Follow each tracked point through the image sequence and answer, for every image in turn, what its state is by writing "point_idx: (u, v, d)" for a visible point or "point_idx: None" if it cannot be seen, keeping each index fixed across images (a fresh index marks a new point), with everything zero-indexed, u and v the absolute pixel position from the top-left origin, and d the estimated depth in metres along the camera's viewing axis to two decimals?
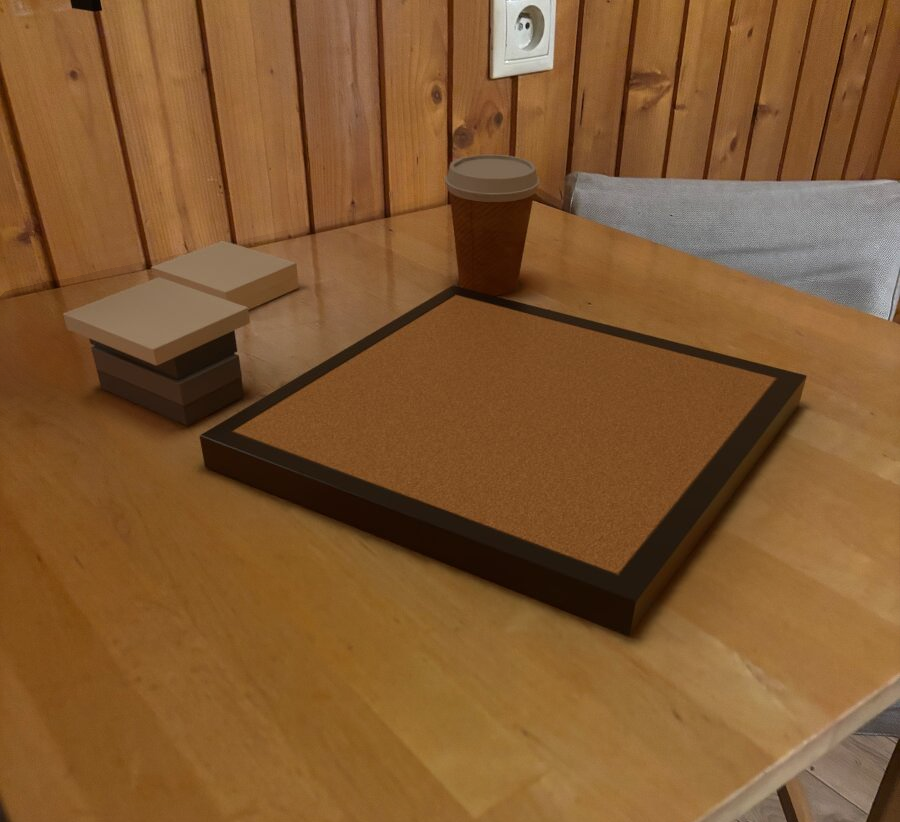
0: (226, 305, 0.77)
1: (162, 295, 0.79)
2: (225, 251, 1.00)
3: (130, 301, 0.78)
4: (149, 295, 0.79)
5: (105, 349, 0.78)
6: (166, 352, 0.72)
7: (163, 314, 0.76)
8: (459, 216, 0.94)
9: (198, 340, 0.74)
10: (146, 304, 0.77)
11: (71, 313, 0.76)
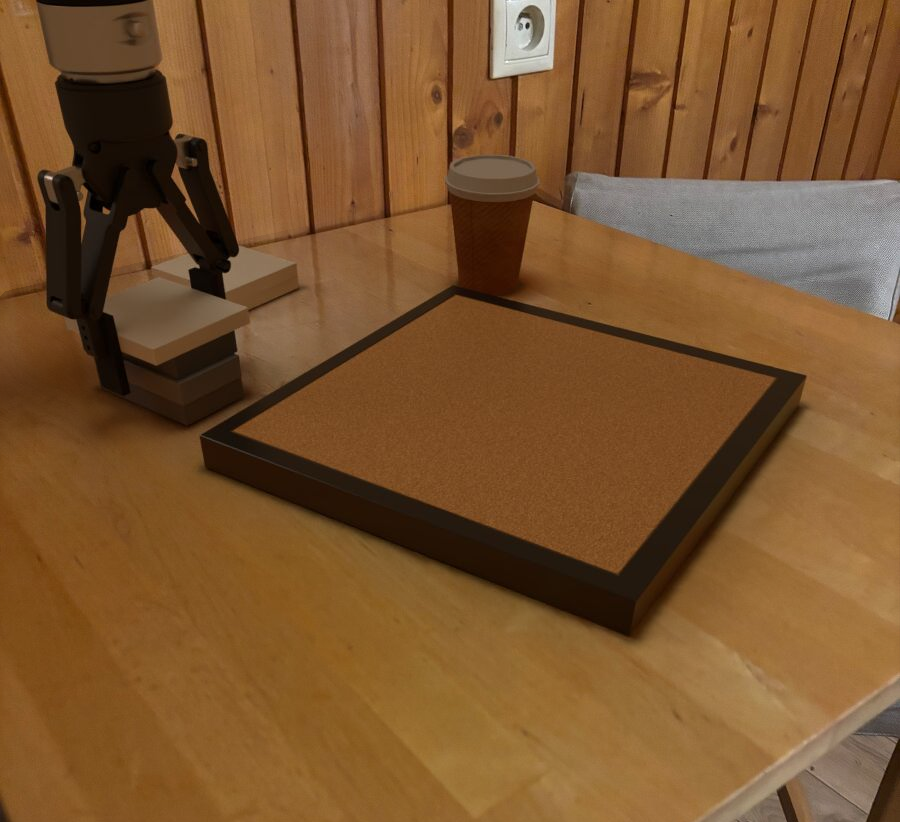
0: (226, 305, 0.77)
1: (162, 295, 0.79)
2: None
3: (130, 301, 0.78)
4: (149, 295, 0.79)
5: None
6: (166, 352, 0.72)
7: (163, 314, 0.76)
8: (459, 216, 0.94)
9: (198, 340, 0.74)
10: (146, 304, 0.77)
11: None
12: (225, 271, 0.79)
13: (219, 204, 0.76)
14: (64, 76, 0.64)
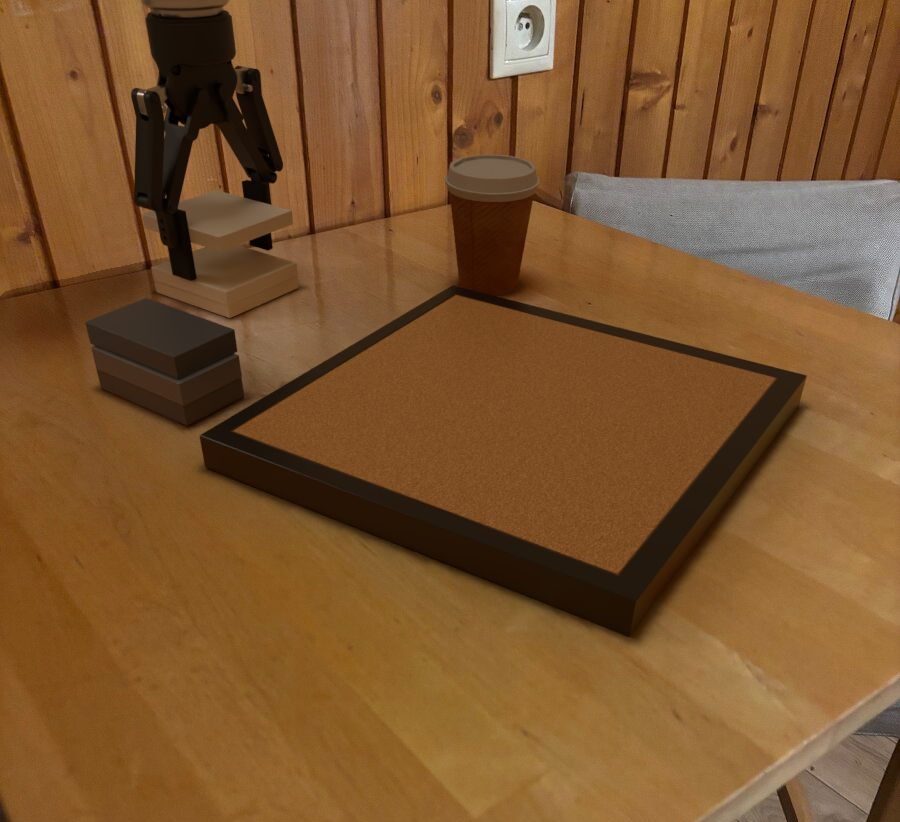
0: (274, 208, 0.95)
1: (220, 202, 0.96)
2: (225, 251, 1.00)
3: (195, 206, 0.95)
4: (210, 202, 0.96)
5: (105, 349, 0.78)
6: (228, 241, 0.89)
7: (223, 215, 0.93)
8: (459, 216, 0.94)
9: (252, 234, 0.91)
10: (208, 208, 0.95)
11: (148, 213, 0.93)
12: (272, 182, 0.96)
13: (268, 125, 0.93)
14: (153, 12, 0.81)
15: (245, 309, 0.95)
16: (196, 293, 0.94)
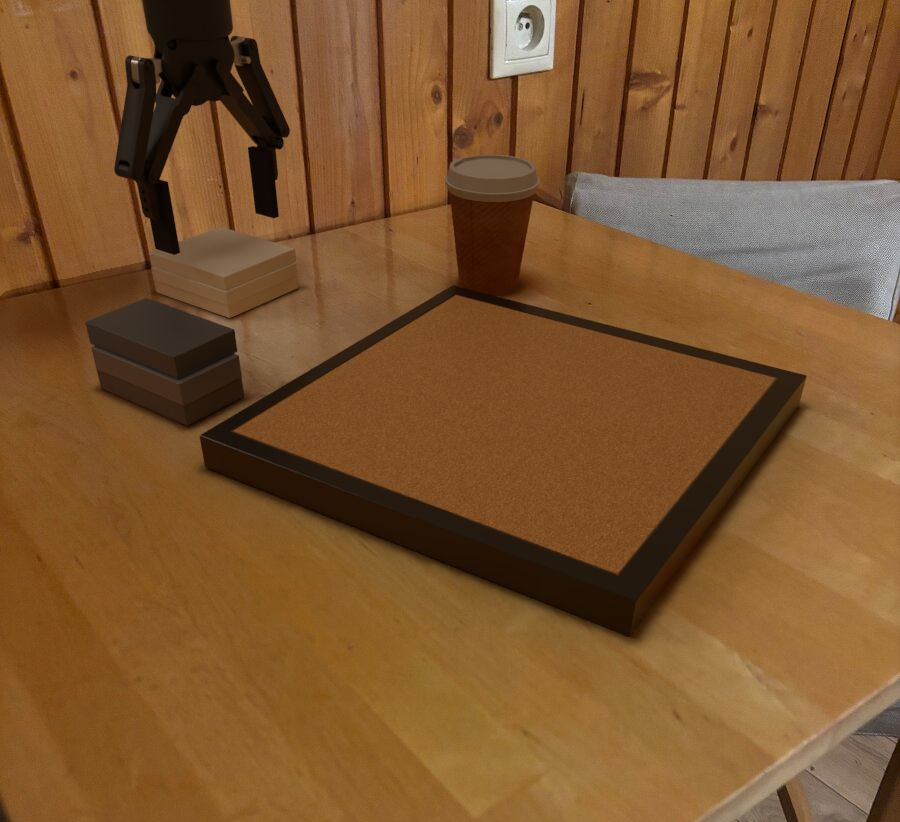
0: (277, 246, 0.97)
1: (225, 239, 0.99)
2: None
3: (200, 244, 0.97)
4: (215, 239, 0.99)
5: (105, 349, 0.78)
6: (233, 280, 0.92)
7: (228, 253, 0.95)
8: (459, 216, 0.94)
9: (257, 273, 0.94)
10: (214, 246, 0.97)
11: (155, 252, 0.96)
12: (279, 147, 0.95)
13: (270, 93, 0.92)
14: None
15: (245, 309, 0.95)
16: (196, 293, 0.94)
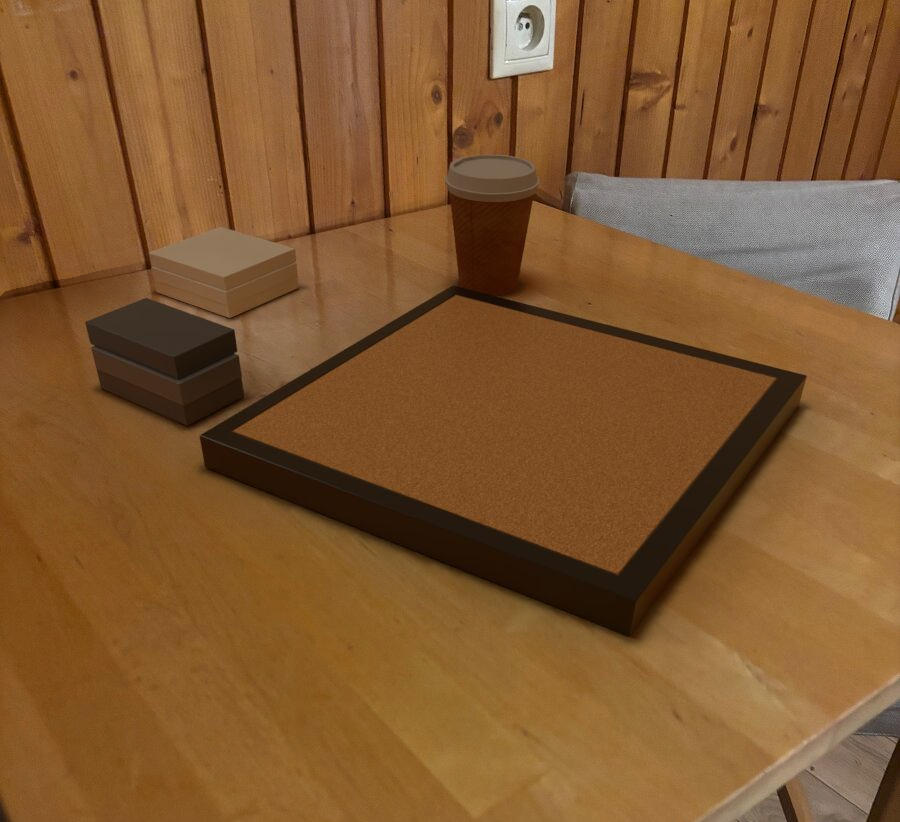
0: (277, 246, 0.97)
1: (225, 239, 0.99)
2: None
3: (200, 244, 0.97)
4: (215, 239, 0.99)
5: (105, 349, 0.78)
6: (233, 280, 0.92)
7: (228, 253, 0.95)
8: (459, 216, 0.94)
9: (257, 273, 0.94)
10: (214, 246, 0.97)
11: (155, 252, 0.96)
12: None
13: None
14: None
15: (245, 309, 0.95)
16: (196, 293, 0.94)
